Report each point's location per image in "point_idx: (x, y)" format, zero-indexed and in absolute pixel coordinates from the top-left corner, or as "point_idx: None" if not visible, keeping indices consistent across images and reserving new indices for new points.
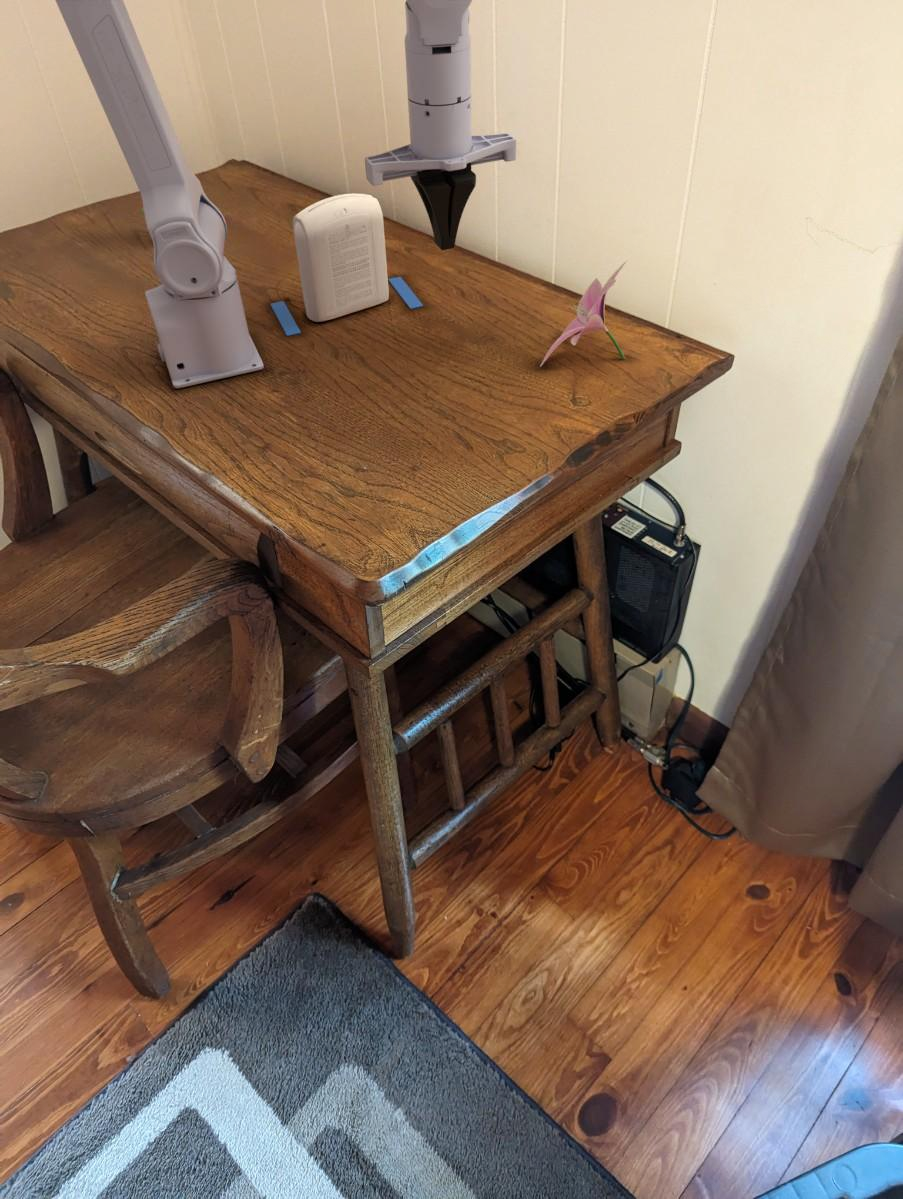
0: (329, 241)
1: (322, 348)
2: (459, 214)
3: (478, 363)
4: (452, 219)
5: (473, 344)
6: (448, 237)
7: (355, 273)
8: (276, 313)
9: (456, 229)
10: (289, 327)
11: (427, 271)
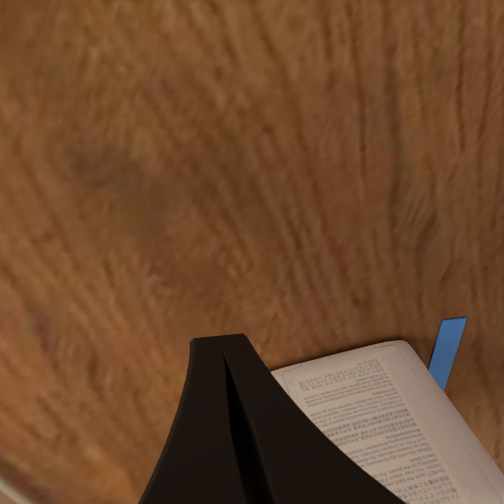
0: (451, 482)
1: (436, 260)
2: (183, 444)
3: (155, 62)
4: (223, 424)
5: (137, 159)
6: (229, 363)
7: (351, 416)
8: (444, 385)
9: (192, 386)
10: (449, 340)
11: (139, 454)
